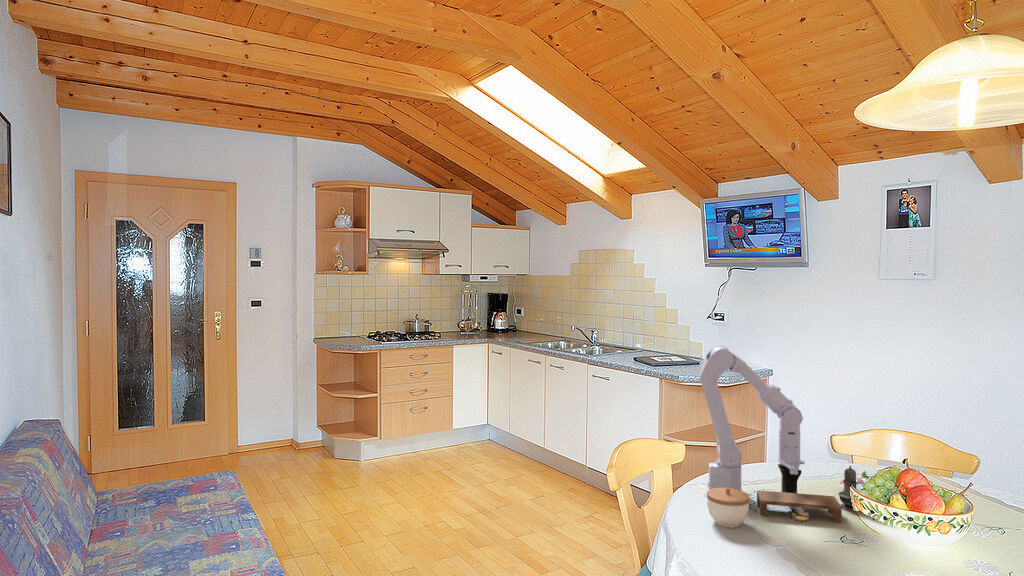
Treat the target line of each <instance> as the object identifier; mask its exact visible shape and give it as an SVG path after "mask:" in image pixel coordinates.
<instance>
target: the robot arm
mask: <svg viewBox="0 0 1024 576" xmlns="http://www.w3.org/2000/svg"><path fill="white" fill-rule="evenodd" d="M728 370H729V371H730V372H733V373H738V374H739V375H740V376H742V377H743V378H744V379H745V380H746V381H747V382H748V383H749V384H751V386H752V387H753V388H755V389H756V391H758V399H759V400H760V401H761V402H762V403H764V405H765V406H766V407H767V408H768V409H770V410H771V411H772V412H773V414H776V416H777V417H778V419H780V420H779V427H778V459H777V462H778V463H779V464H777V466H778V469H779V472H780V473H782V475H783V478H784V484H785V489H786V492H787V493H794V491H795V488H796V483H797V484H798V481H799V477H800V476H801V475H802V470H801V469H800V466H801V465H805V464H806V463H805V460H804V459H801V424H802V422H803V421H804V416H803V415H802V412H801V410H800V409H799V408H798V407H797V406H796V405H795V404H794V401H793V400H792V399H790V398H787V396H785V395H784V394H783V392H781V390H782V389H781V388H780V387H779V386H778V385H777V386H775V385H774V384H769V383H768V384H767V383H766V382H764V380H763V379H762V378H761V377H760V376H759V375H758V374H757V373H756V372H755V371H754V370H753V369H752V368H751V367H750V366H749V365H748V364H747V363H746V362H745V361H744V360H743V359H742V358H740V357H739V356H737V355H736V354H735V353H733V352H732V351H730V350H729V349H728V348H727V347H726V346H724V345H715V346H714V347H712V348H711V349H710V350H709V352H708V353H707V354H706V356H705V359H704V362H703V366H702V367H701V370H700V374H699V379H700V384H701V387H702V390H703V393H704V397H705V401H706V404H707V408H708V412H709V414H710V416H709V417H710V419H711V422H712V425H713V429H714V433H715V437H716V447H715V449H716V453H717V454H718V458H716V461H715V462H708V481H707V487H708V490H710V489H713V488H733V489H738V490H741V491H743V488H742V462H741V461H742V458H743V457H742V452H741V451H740V449H739V447H738V444H737V442H736V441H735V440H734V437H733V434H732V429H731V427H730V423H729V420H728V416H727V413H726V409H725V405H724V402H723V399H722V395H721V390H720V387H719V384H718V381H719V379H720V377H721V376H722V375H723V374H724V373H725V372H727V371H728Z"/></svg>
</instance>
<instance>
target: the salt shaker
mask: <svg viewBox="0 0 1024 576" xmlns="http://www.w3.org/2000/svg"><path fill="white" fill-rule="evenodd" d="M856 477H857V472H856V470H855V469H854V468H852V466H851V465H849V466H848V468H846V469H845V470H844V477H843V479H844V480H843V482H844V483H843V490H842V491H839V492H838V494H837V495H838V496H839V499H840V501H841V503H840V505H841V507H842V510H844V511H848V512H854V510H853V507H852V502H851V497H850V487H851V485H853V487H854V488H855V489H856V484H857V482H856Z"/></svg>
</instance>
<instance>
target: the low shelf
mask: <svg viewBox="0 0 1024 576" xmlns="http://www.w3.org/2000/svg"><path fill="white" fill-rule="evenodd" d="M769 505H770V506H779V507H788V506H791V507H801V508H802V509H805V508H806V509H815V510H827V512H828V514H833V517H832V518H833V522H834V523H837V524H838V523H839V524H841V523H842V520H843V519H842V515H843V514H842V512H843V511H842V510H843V509H842V507H841V503H839V501H838V500H837V498H836V497H835V495H824V494H811V493H810V494H808V493H798V492H797V493H786V492H781V491H771V490H770V491H769V490H758V489H757V490H756V507H757V508H759V515H760V517H768V506H769Z"/></svg>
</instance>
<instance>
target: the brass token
mask: <svg viewBox="0 0 1024 576" xmlns="http://www.w3.org/2000/svg"><path fill="white" fill-rule="evenodd" d="M791 517H792V520H793V519H794V521H795V522H799V523H807V522H809V521H810V514H809V515H807V514H805V513H802V512H794V513H793V514H792V516H791Z"/></svg>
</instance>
